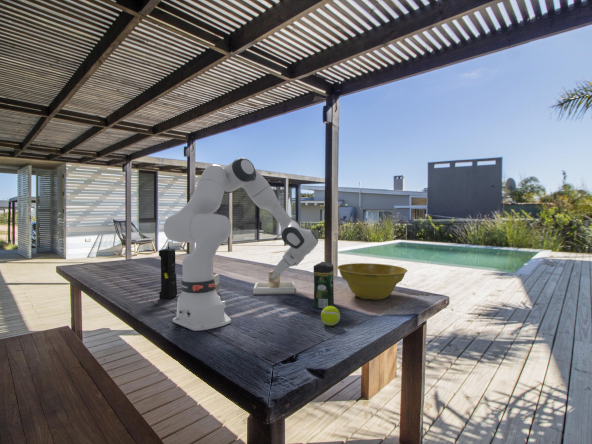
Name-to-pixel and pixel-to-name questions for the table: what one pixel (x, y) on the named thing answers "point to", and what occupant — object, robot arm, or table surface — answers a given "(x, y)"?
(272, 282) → the block
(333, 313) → the tennis ball
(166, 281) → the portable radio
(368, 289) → the planter bowl
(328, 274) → the coffee jar
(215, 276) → the block
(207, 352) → the table surface
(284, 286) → the tray
